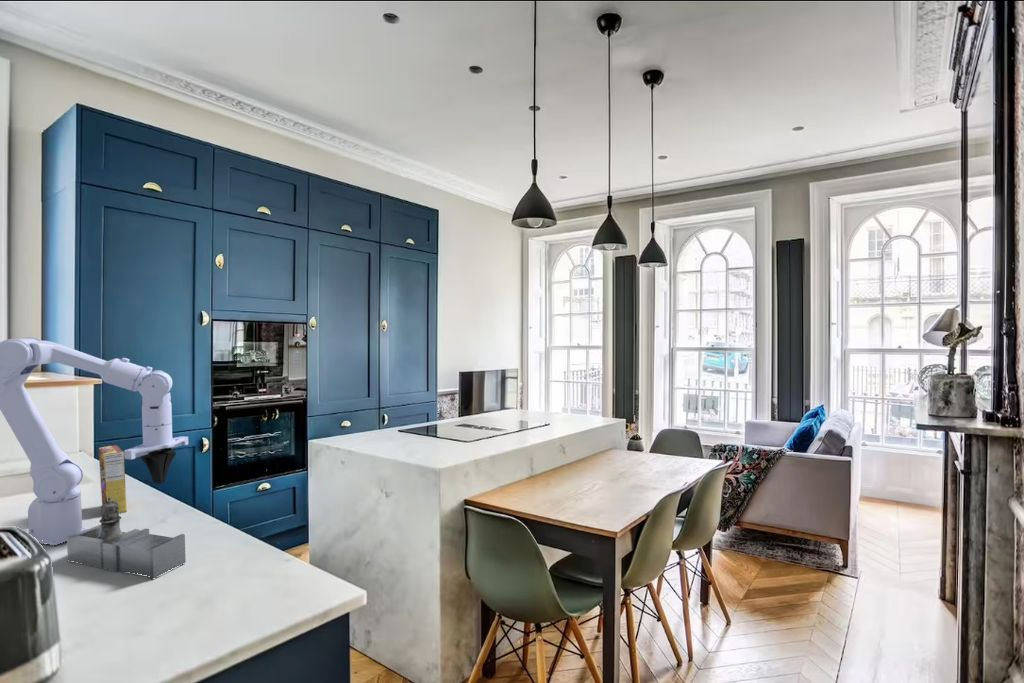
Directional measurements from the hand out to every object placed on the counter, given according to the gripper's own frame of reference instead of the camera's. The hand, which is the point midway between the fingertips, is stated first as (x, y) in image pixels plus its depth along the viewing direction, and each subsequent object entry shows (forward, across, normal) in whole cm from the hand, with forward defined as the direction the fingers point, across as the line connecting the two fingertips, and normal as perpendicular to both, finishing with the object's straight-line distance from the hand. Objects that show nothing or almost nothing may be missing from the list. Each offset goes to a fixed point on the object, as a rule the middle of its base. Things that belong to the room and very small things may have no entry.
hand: (159, 482), depth 127 cm
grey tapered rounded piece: (+10, -15, -5) cm, 19 cm away
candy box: (+10, +4, +20) cm, 23 cm away
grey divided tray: (+10, -17, -11) cm, 22 cm away
